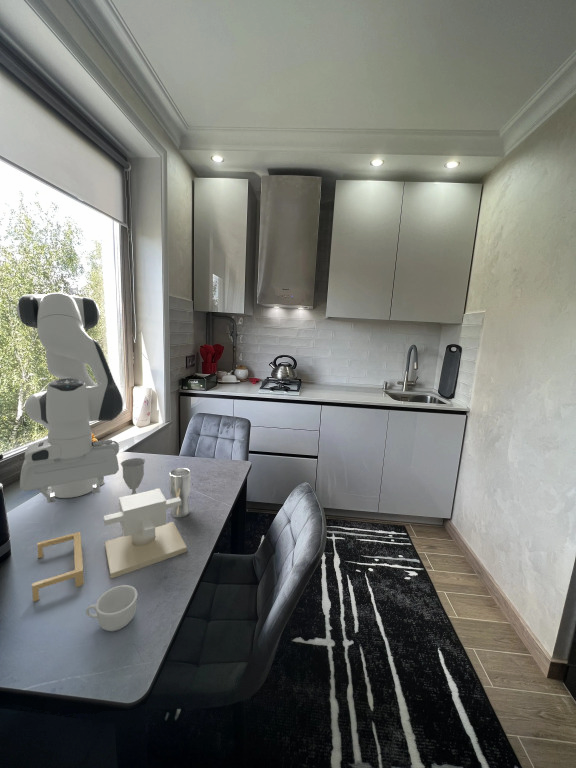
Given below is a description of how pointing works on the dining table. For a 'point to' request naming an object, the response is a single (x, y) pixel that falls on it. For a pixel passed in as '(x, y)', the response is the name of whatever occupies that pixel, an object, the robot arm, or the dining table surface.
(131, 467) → the chalice
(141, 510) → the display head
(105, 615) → the teacup
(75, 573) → the tan open angular frame
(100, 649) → the dining table surface
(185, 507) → the beer glass
